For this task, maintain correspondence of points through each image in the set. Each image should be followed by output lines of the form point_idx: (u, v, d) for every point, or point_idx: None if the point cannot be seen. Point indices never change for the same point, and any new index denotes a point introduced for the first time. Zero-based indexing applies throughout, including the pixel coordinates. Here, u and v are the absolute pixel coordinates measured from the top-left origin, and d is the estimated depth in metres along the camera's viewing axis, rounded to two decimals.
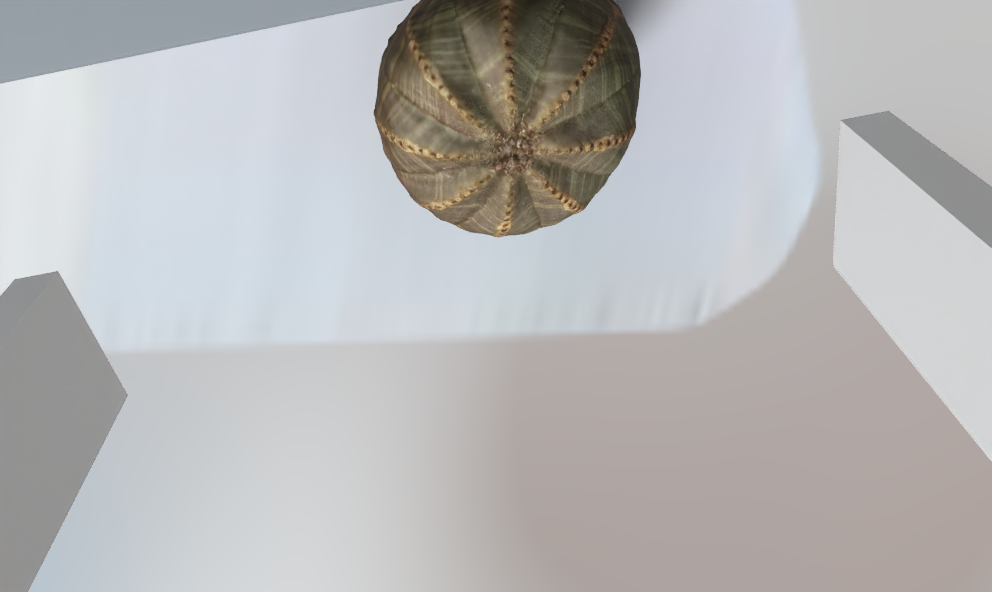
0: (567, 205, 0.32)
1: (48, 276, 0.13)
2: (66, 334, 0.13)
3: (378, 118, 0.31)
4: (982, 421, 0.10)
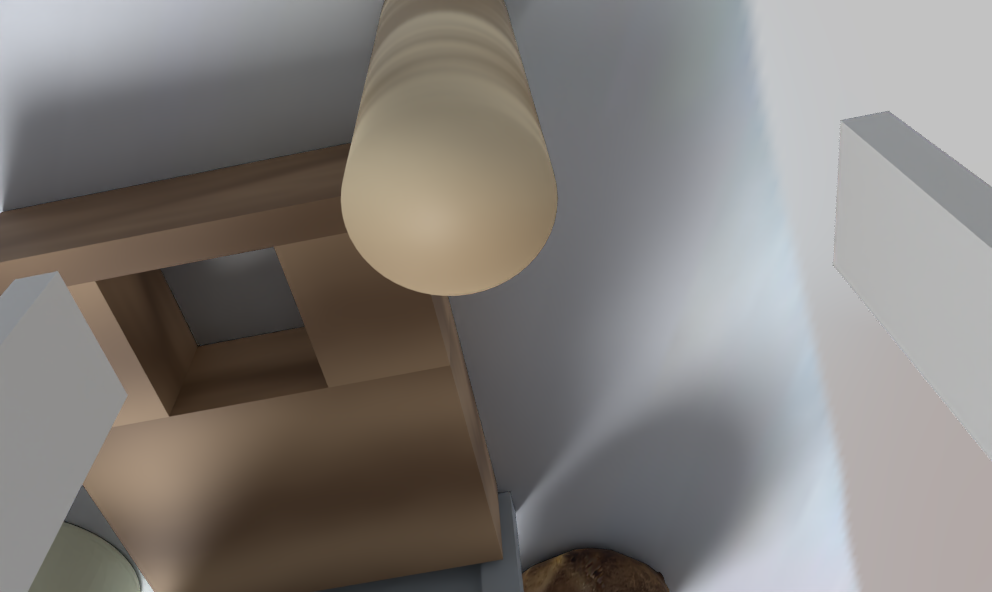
0: None
1: (49, 277, 0.13)
2: (66, 334, 0.13)
3: None
4: (982, 421, 0.10)
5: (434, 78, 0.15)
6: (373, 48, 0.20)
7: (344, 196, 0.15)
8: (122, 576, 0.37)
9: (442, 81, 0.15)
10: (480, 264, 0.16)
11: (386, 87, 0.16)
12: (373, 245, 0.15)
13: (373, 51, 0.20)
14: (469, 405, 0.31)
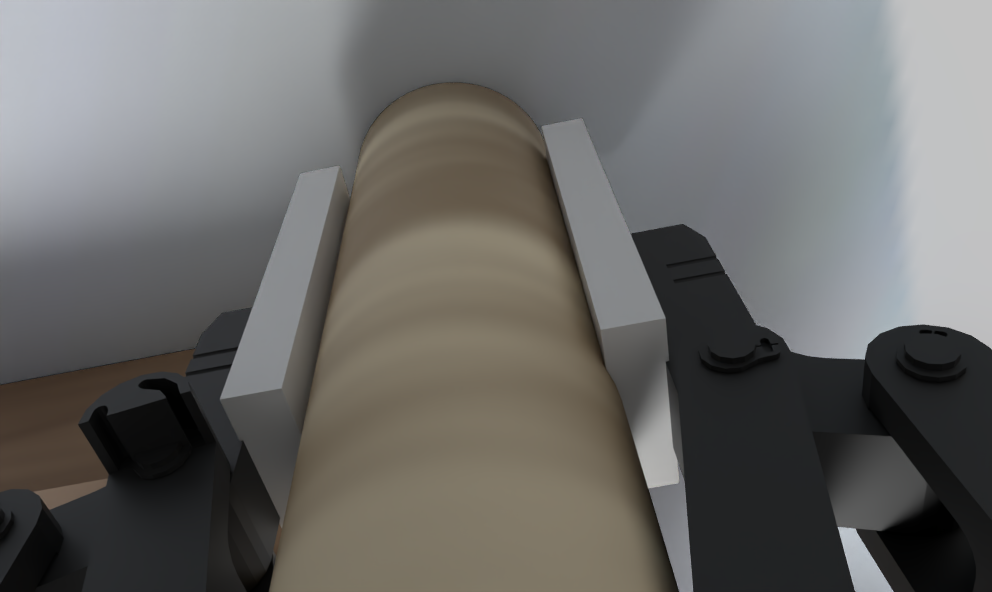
0: None
1: (334, 170, 0.15)
2: None
3: None
4: None
5: (445, 488, 0.07)
6: (339, 257, 0.12)
7: None
8: None
9: (465, 506, 0.07)
10: None
11: (344, 469, 0.07)
12: None
13: (337, 272, 0.12)
14: None
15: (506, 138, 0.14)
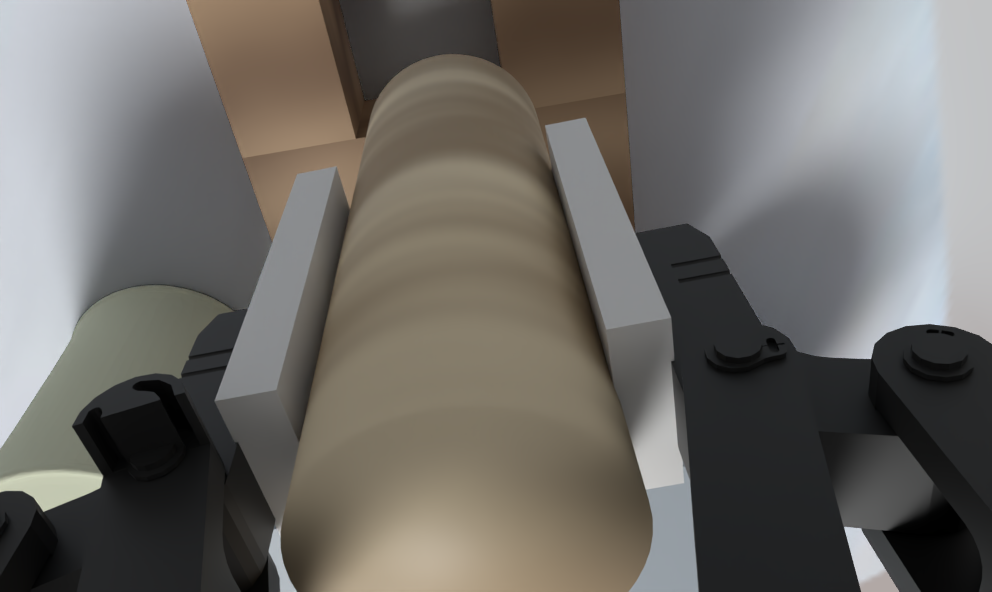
0: None
1: (330, 170, 0.15)
2: (345, 222, 0.15)
3: None
4: None
5: (442, 332, 0.09)
6: (354, 196, 0.14)
7: (286, 543, 0.08)
8: None
9: (456, 343, 0.09)
10: None
11: (362, 330, 0.09)
12: None
13: (352, 207, 0.14)
14: None
15: (499, 98, 0.16)
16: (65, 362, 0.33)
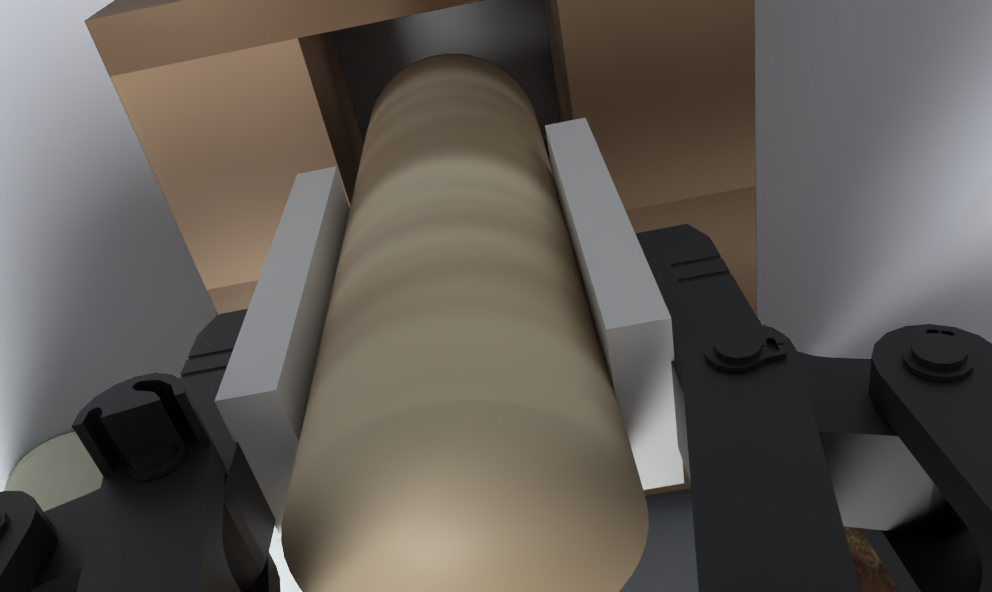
0: None
1: (330, 171, 0.15)
2: (345, 222, 0.15)
3: None
4: None
5: (441, 328, 0.09)
6: (353, 195, 0.14)
7: (287, 536, 0.09)
8: None
9: (453, 338, 0.09)
10: None
11: (362, 326, 0.10)
12: None
13: (352, 205, 0.14)
14: None
15: (497, 97, 0.16)
16: None
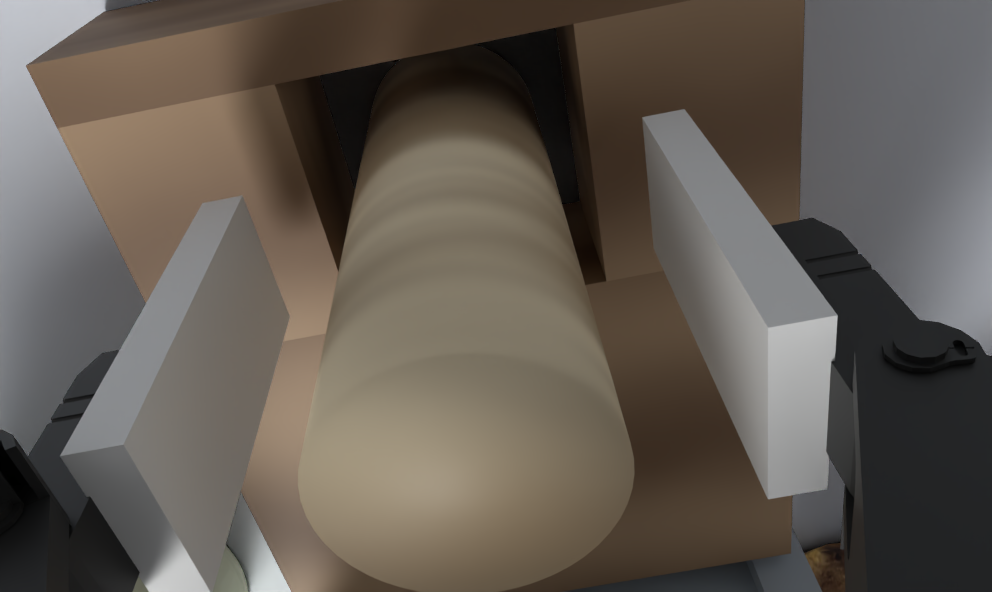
0: None
1: (235, 200, 0.14)
2: (251, 252, 0.14)
3: None
4: (721, 377, 0.12)
5: (443, 291, 0.10)
6: (359, 176, 0.15)
7: (303, 481, 0.09)
8: (230, 578, 0.27)
9: (456, 301, 0.09)
10: (513, 556, 0.10)
11: (370, 291, 0.10)
12: (349, 538, 0.10)
13: (358, 185, 0.15)
14: None
15: (496, 83, 0.17)
16: None
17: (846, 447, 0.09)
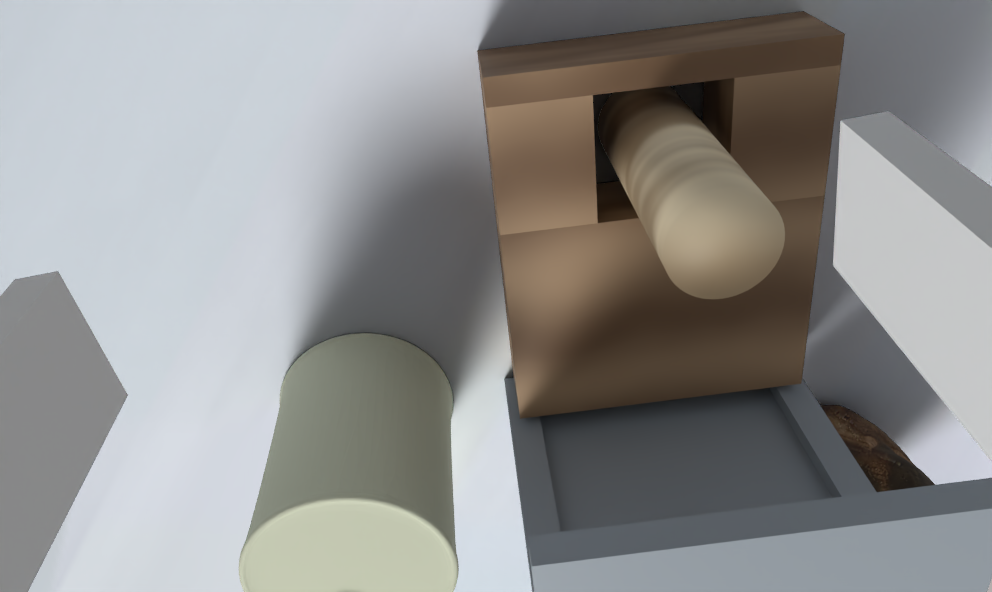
0: None
1: (48, 277, 0.13)
2: (66, 334, 0.13)
3: None
4: (982, 421, 0.10)
5: (719, 174, 0.26)
6: (626, 141, 0.32)
7: (668, 238, 0.26)
8: (449, 398, 0.43)
9: (726, 177, 0.26)
10: (731, 281, 0.27)
11: (683, 176, 0.27)
12: (675, 266, 0.27)
13: (631, 144, 0.31)
14: None
15: (682, 102, 0.34)
16: (309, 401, 0.38)
17: None
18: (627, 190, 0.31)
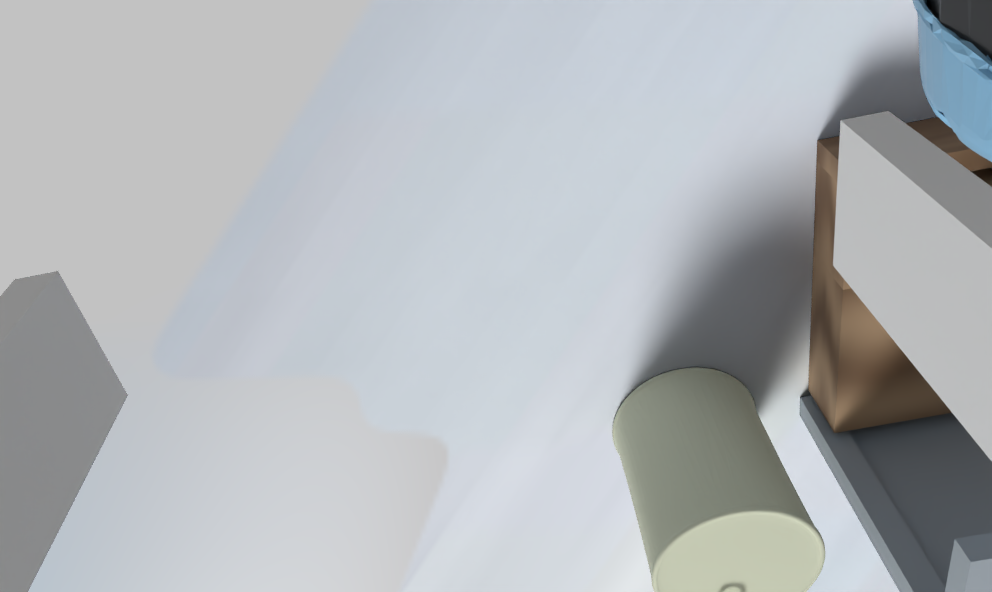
0: None
1: (49, 277, 0.13)
2: (66, 334, 0.13)
3: None
4: (982, 421, 0.10)
5: None
6: None
7: None
8: None
9: None
10: None
11: None
12: None
13: None
14: None
15: None
16: (670, 429, 0.46)
17: None
18: None
